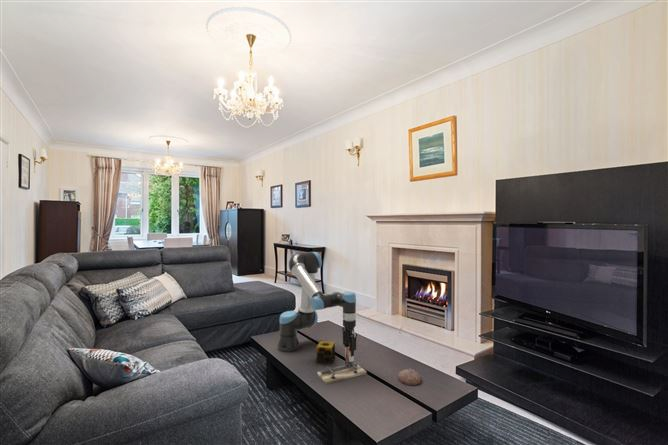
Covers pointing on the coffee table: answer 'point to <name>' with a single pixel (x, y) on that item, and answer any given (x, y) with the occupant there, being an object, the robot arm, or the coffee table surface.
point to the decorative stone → (409, 377)
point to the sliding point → (348, 359)
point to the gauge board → (342, 374)
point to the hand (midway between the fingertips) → (349, 359)
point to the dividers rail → (336, 369)
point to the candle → (325, 352)
